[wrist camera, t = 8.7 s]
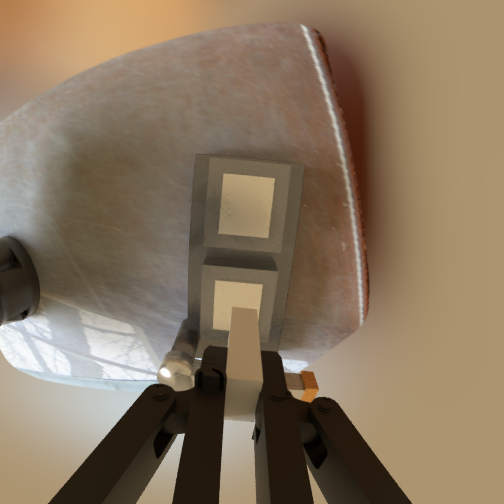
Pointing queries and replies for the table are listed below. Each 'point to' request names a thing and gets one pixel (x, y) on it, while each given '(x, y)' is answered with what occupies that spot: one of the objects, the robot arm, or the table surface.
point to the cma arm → (184, 365)
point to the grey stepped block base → (239, 247)
